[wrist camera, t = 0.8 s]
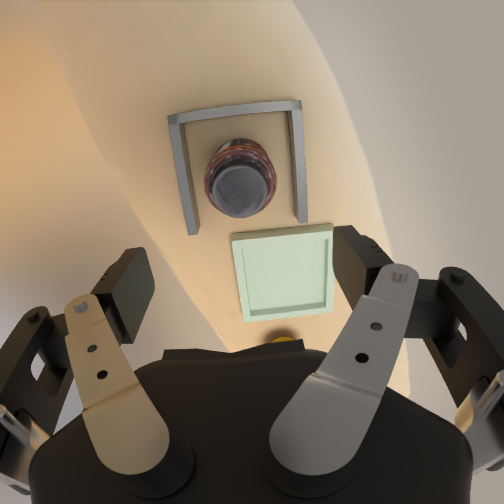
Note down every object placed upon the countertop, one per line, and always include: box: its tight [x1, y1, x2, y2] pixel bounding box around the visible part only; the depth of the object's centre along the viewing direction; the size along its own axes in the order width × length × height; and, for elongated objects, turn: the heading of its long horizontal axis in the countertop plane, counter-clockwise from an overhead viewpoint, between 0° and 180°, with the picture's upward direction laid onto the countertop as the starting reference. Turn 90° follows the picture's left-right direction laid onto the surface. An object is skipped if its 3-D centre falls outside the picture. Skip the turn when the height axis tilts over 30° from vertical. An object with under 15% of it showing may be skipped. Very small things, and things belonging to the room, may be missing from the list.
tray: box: [231, 224, 335, 323], centre depth 36 cm, size 12×12×2 cm
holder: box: [167, 100, 308, 235], centre depth 29 cm, size 13×13×2 cm
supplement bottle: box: [204, 139, 277, 218], centre depth 25 cm, size 6×6×11 cm
